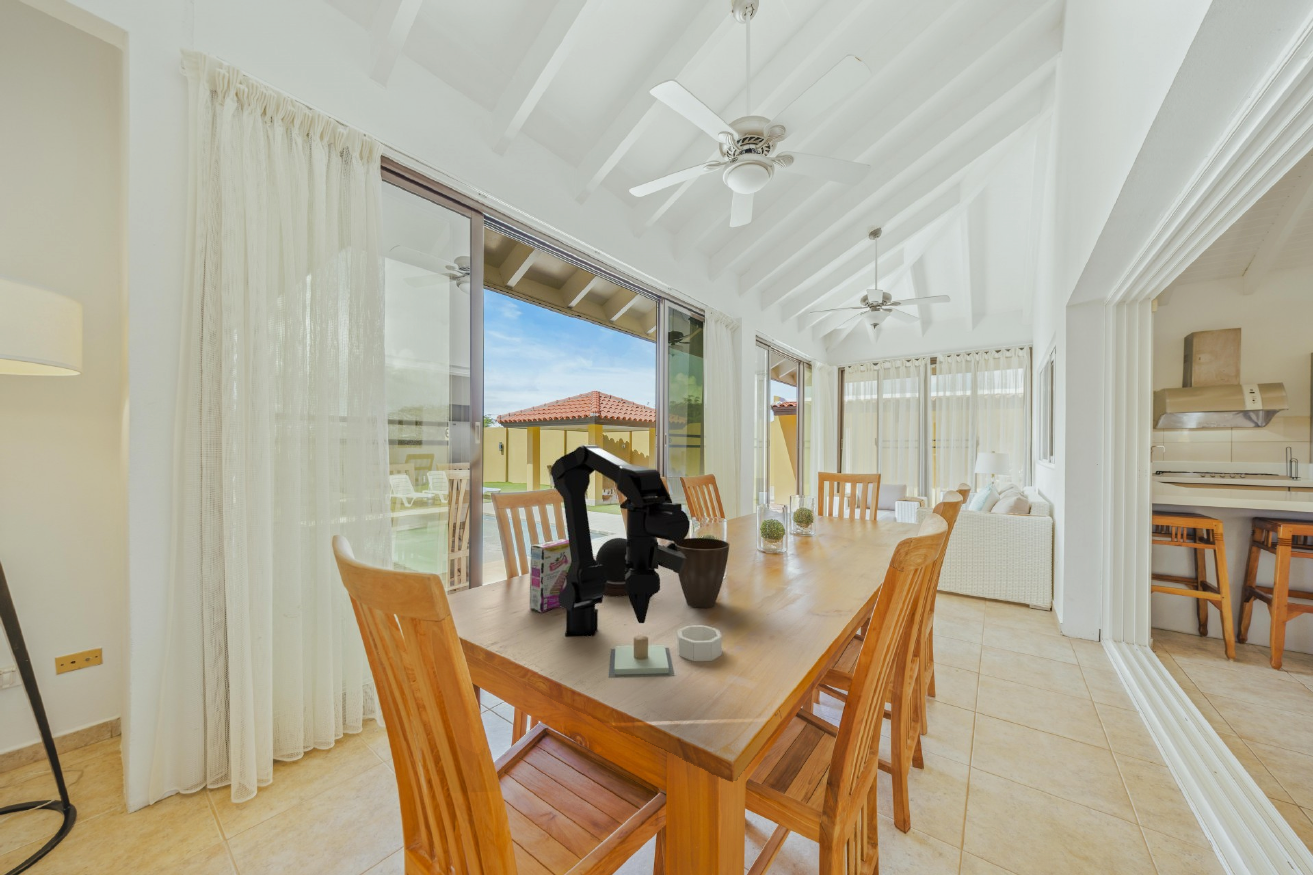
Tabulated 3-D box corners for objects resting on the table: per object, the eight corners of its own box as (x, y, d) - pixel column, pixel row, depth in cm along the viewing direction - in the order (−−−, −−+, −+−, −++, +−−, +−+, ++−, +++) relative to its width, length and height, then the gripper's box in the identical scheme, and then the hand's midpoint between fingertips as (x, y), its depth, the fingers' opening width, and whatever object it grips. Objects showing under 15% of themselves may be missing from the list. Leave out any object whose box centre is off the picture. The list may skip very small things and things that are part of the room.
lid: (614, 674, 90) (614, 649, 90) (615, 650, 100) (615, 628, 100) (668, 673, 90) (668, 648, 90) (664, 649, 100) (664, 627, 100)
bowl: (680, 663, 95) (680, 642, 95) (675, 644, 104) (676, 625, 104) (724, 662, 96) (724, 641, 96) (716, 643, 104) (716, 624, 104)
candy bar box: (542, 613, 122) (542, 547, 122) (529, 609, 125) (529, 545, 125) (574, 601, 131) (575, 540, 131) (561, 598, 134) (561, 538, 134)
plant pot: (675, 593, 138) (676, 536, 139) (729, 595, 136) (729, 538, 136) (669, 611, 124) (670, 548, 124) (729, 614, 122) (729, 550, 122)
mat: (608, 679, 89) (608, 677, 89) (610, 650, 101) (610, 648, 101) (674, 677, 89) (674, 675, 89) (668, 649, 101) (668, 647, 101)
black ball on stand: (629, 581, 150) (629, 532, 150) (649, 593, 138) (649, 540, 138) (588, 587, 143) (589, 536, 143) (605, 600, 132) (606, 544, 132)
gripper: (688, 543, 86) (688, 632, 86) (677, 524, 105) (677, 597, 105) (625, 544, 86) (624, 633, 86) (625, 525, 104) (625, 598, 104)
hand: (640, 613), depth 95 cm, fingers open, 9 cm apart
